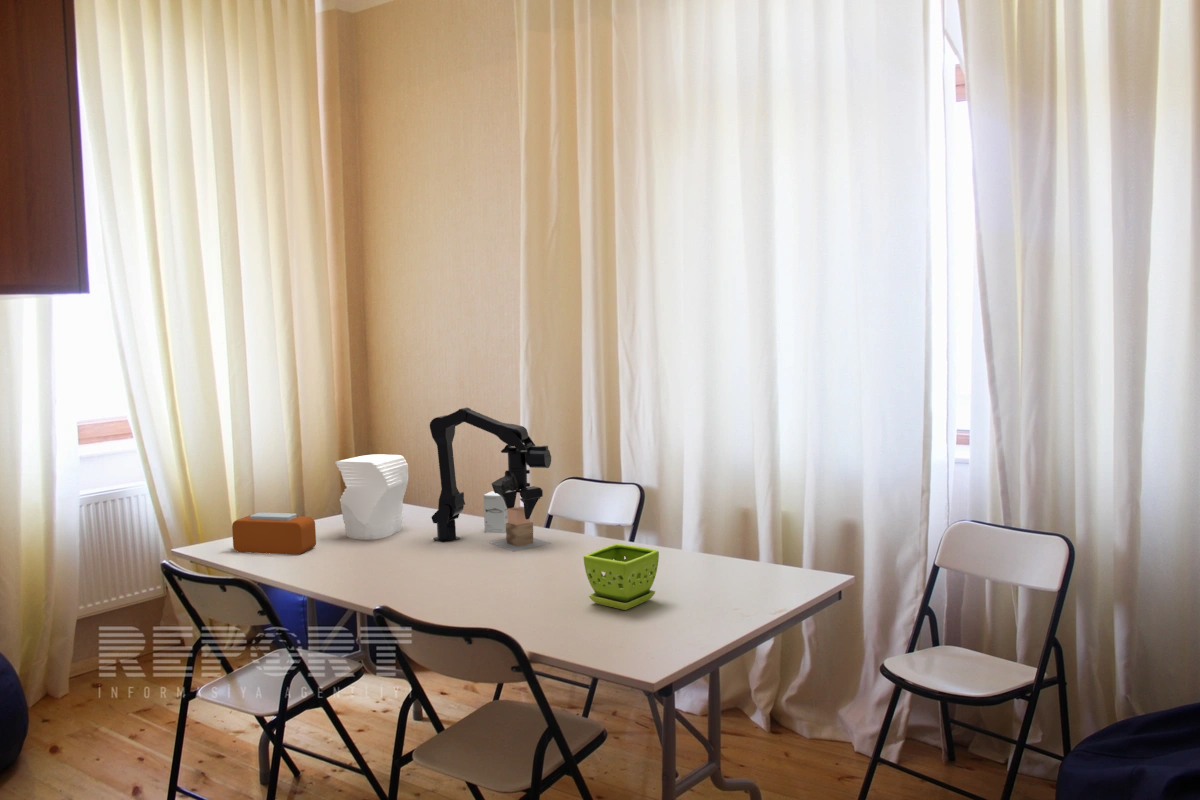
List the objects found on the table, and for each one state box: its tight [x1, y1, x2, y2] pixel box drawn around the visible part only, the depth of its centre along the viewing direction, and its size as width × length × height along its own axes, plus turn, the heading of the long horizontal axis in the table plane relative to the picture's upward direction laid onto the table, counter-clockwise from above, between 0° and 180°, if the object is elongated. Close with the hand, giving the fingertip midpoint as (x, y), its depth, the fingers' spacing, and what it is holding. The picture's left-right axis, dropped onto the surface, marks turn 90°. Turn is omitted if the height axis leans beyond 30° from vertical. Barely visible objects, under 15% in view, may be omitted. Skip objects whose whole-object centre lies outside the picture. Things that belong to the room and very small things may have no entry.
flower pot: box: [583, 543, 660, 611], centre depth 228 cm, size 14×14×13 cm
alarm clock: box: [231, 511, 317, 556], centre depth 289 cm, size 24×8×11 cm, turn 76°
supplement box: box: [483, 490, 508, 534], centre depth 307 cm, size 7×7×13 cm
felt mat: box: [489, 537, 552, 552], centre depth 289 cm, size 14×14×1 cm
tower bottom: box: [505, 532, 534, 547], centre depth 289 cm, size 6×6×3 cm
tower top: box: [505, 521, 534, 536], centre depth 289 cm, size 6×6×3 cm
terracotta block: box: [507, 505, 531, 525], centre depth 288 cm, size 5×5×4 cm
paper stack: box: [334, 453, 410, 541], centre depth 306 cm, size 21×27×26 cm
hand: (519, 516), depth 288 cm, fingers open, 9 cm apart
